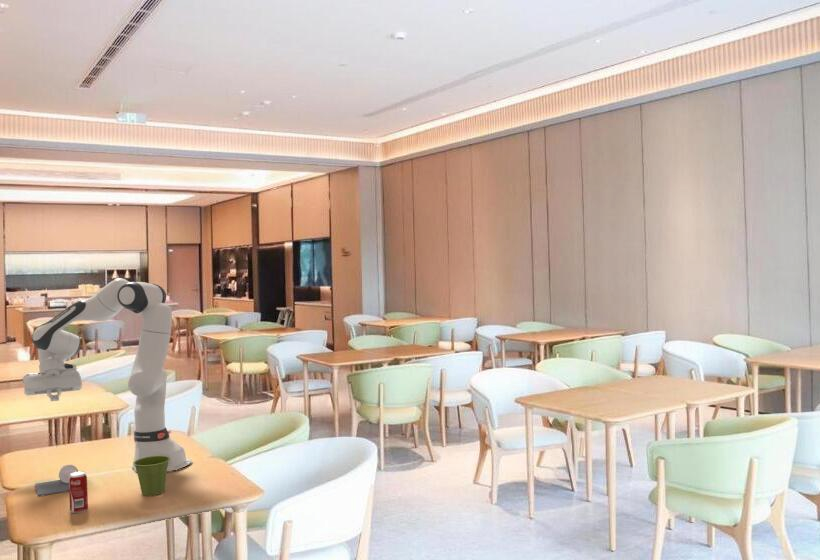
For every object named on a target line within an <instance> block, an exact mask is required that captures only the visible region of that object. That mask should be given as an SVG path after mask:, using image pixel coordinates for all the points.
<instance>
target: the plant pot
mask: <svg viewBox="0 0 820 560" xmlns="http://www.w3.org/2000/svg"><path fill="white" fill-rule="evenodd" d="M169 460H170V457H167V456H150V457H145V458H141V459H138V460H136V461H134V460H133V461H134V462H133V461H132V465H133V464H134V465H135V468H136V471H137V472H136V473H137V477H138V481H139V486H140V491H141V495H142V496H143V495H144V496H146V497H153V496H154V495H155V496H158V494H163V493H164V492H165V490H166V489H165V488H166V480H167V473H168V471H167V467H168V461H169Z"/></svg>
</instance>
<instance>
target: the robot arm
mask: <svg viewBox="0 0 820 560" xmlns="http://www.w3.org/2000/svg"><path fill="white" fill-rule="evenodd" d="M166 300H167V293H166V291H165V289H164V288H163V286H160V285H159V284H156V283H149V282H145V281H129V280H127V279H125V278H121V277H119V278H118V277H117V278H115V279H113V280H112V281H110V282H109V283H107V284H105V286H103V287H102V288H101V289H100V290H99V291H97V293H95V294H94V295H92V296H90V297H88V298H86V299H84V300H78V301H76V302H74V303H72V304H71V305H69V306H68V307H66V308H65V309H64V310H61V312H60V313H58V314H57V315H55V316H54V317H52V318H51V319H49V320H48V321H46V322H45V323H42V324H41V325H38V327H35V329H34V330H33V332H32V335H31V341H32V344H33V345H34V348H36V349H37V357H38V358H37V359H38V362H39V365H38V368H39V372H36V373H28V374H26V375H24V376H23V377H22V382H23V384H24V387H23V389H24V392H23V393H24V394H25V396H37V395H46V396H47V397H48V398H49V399H50V400H49V401H50V402H57V401H60V396H61V395H62V393H65V392H74V391H80V390H81V389H82V388H83V380H82V378H81V377H82V376H81V375H80V373H79V371H78V370H77V369H78V368H77V365H76V364H72V363H67V362H65V361H69V360H71V358H74V357H75V356H76V355H78V354H79V352H80V351H81V348H82V347H81V344H82V341H81V338H80V336H79V335H76V334H75V333H72V332H70V331H66V330H64V329H65V328H66V327H68V326H69V325H70V324H72V323H73V322H76V321H93V322H94V321H95V322H107V321H109V320H112V319H113V318H114V317H115V316H116V315H118V314H119V313H120V312H121V310H123V308H125V309H127V310H129V311H131V312H133V313H134V314H139V313H140V315H141V316H142V322H141V328H140V335H139V341H138V346H137V352H136V354H135V357H134V361H133V365H132V368H131V373H130V375H129V376H130V377H129V379H128V388H129V389H128V390H129V391H130V393H132V394H133V395H135V396H136V400H135V406H134V410H133V411H134V412H133V413H134V431H133V440H134V443H135V444H134V456H133V461H132V465H131V469H132V470H134V472H136V473H137V471H136V468H135V465H134V464H133V462H134V461H136V460H138V459H141V458H145V457H150V456H167V457H170V460H169V461H168V467H167V472H173V471H172V470H176V469H179V468H182V467H184V466H186V465H188V464H190V463H191V462H192V463H193V460H192V459H189V458H187V457H186V451H185V449H184V447H183V446H181V444H180V443H177V442H176V441H174V439H173V438H171V437H170V434H172V429H170V430H168V429H167V427H166V417H165V415H166V414H165V412H166V411H165V403H166V394H167V393H166V391H167V380H168V379H167V378H168V376H167V375H168V374H167V370H166V369H165V367H164V365H165V361H166V359H167V355H168V352H169V346H170V342H171V341H170V340H171V334H172V324H173V314H172V313H173V311H172V308H171V306H170V305H168V304H166ZM56 393H57V394H56ZM53 394H54V395H53ZM192 463H191V464H192ZM191 464H190V465H191ZM182 469H183V468H182ZM179 470H180V469H179ZM176 471H177V470H176Z"/></svg>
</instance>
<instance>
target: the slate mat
mask: <svg viewBox="0 0 820 560" xmlns="http://www.w3.org/2000/svg"><path fill="white" fill-rule="evenodd" d="M34 485H36V486H35V490H37V491H36V495H38V496H39V497H43V496H42V495H45V496H49V495H50V494H51V495H56V494H57V495H58V494H63V493H68V492H69V483H64V482H62V481H61V480H60V479H55V480H51V481H50V480H49V481H42V482H37V483H35V484H34ZM38 496H37V497H38Z"/></svg>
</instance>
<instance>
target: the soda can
mask: <svg viewBox="0 0 820 560" xmlns="http://www.w3.org/2000/svg"><path fill="white" fill-rule="evenodd" d="M87 477H88V476H87V474H86V472H85V471H78V472H74V473H71V474H70V477H69V493H68V494H69V496H68V497H69V512H70V513H71V514H82V513H85V512H87V511H88V509H89V497H88V496H89V495H88V478H87Z"/></svg>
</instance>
